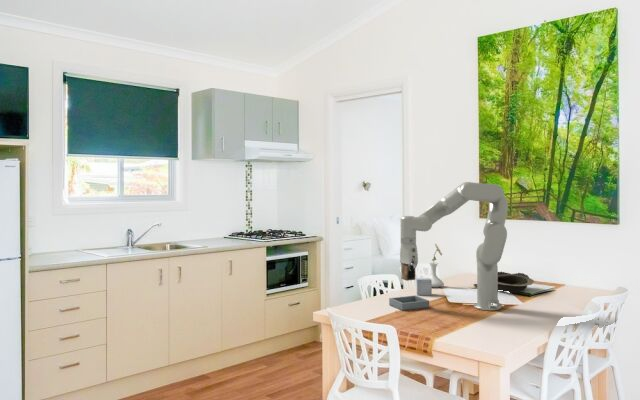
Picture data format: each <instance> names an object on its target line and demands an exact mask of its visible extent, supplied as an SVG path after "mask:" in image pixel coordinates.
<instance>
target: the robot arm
mask: <svg viewBox="0 0 640 400" xmlns="http://www.w3.org/2000/svg"><path fill="white" fill-rule="evenodd" d="M504 193H505V192H504V189H503V187H502V186H501V185H499V184H496V183H495V184H494V183H480V182H472V181H465V182H462V183H460V184H459V185H457V187H456V188H454V189H453V190H452V191H450V192H449V193H447V194H446V195H445V196H444V197H442V198H441V199H439V200H438V201H437V202H436V203H434V205H432V206H430V207H429V208H428V209H427V210H425V211H423V212H422V213H421V214H420V215H419V216H414V215H403V216H401V217H400V247H399V262H400V265H406V264H408V266H409V271H408V279H414V278H415V279H416V268H417V266H418V264H419V257H418V256H419V255H418V246H417V231H418V232H428V231H430V230H431V229H432V227H433V225H434V224H435V223H437V222H438V221H439V220H441V219H443V217H447V216H448V215H452V214H453V213H454V212H456V211H457V210H459V209H460V208H461V207H462V206H464V205H465V204H466V203H468V202H469V201H475V202H487V203H488V213H487V217H486V220H485V224H484V227H483V236H484V239H483V242H482V243H480V244H479V245H478V246H477V249H476V251H475V252H476V255H475V256H476V274H477V275H476V289H477V290H476V295H477V296H476V297H477V298H476V299H477V300H476V303H474V304H473V307H474V308H475V309H477V310H481V311H498V310H501V309H502V306H503V305H502V303H500V300H499V293H498V272H499V271H498V268H499V267H498V263H499V262H500V261H501V259H502V256H503V253H504V249H505V245H506V243H507V239H508V238H507V237H508V231H507V230H508V229H507V228H506V226H505V224H506V220H507V215H508V207H509V205H508V201H507V197H506V195H505V194H504ZM411 266H412V267H411Z"/></svg>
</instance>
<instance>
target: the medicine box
mask: <svg viewBox="0 0 640 400" xmlns="http://www.w3.org/2000/svg"><path fill="white" fill-rule="evenodd" d="M415 281H416V296H432V295H433V293H432V290H433V287H432V280H431V278H430V277H428V278H427V277H424V278H423V277H422V278H421V277H420V278H419V277H417V278H415Z"/></svg>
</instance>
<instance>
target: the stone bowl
mask: <svg viewBox="0 0 640 400" xmlns="http://www.w3.org/2000/svg"><path fill="white" fill-rule="evenodd" d="M533 283H535V281H534V279H532V278H530V277H529V275H528V274H525V273H523V272H518V273H517V272H516V273H511V272H510V273H509V272H505V271H498V290H503V291H509V292H510V294H520V293H521V292H525V291H526V289H527V288H528V286H532V285H533Z"/></svg>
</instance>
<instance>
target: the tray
mask: <svg viewBox="0 0 640 400" xmlns="http://www.w3.org/2000/svg"><path fill="white" fill-rule="evenodd" d="M388 299H389V302H388V303H389V305H388V306H390V307H393V308H395V309H397V310H400V311H401V310H402V311H401V312H405V311H404V310H406V311H413V310H414V309H415V310H421V309H430V300H429V299H425V298H423V297H421V296H419V295H417V294H416V295H407V296H396V297H389V298H388Z"/></svg>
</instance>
